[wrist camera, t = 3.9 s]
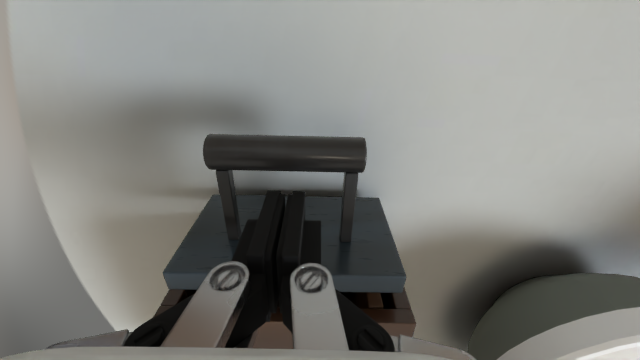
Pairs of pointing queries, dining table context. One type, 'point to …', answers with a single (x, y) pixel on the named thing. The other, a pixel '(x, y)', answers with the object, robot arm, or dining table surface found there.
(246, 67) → the dining table surface
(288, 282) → the robot arm
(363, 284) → the drawer
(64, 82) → the dining table surface
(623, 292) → the bowl
